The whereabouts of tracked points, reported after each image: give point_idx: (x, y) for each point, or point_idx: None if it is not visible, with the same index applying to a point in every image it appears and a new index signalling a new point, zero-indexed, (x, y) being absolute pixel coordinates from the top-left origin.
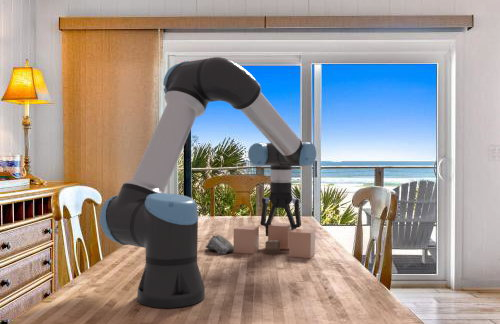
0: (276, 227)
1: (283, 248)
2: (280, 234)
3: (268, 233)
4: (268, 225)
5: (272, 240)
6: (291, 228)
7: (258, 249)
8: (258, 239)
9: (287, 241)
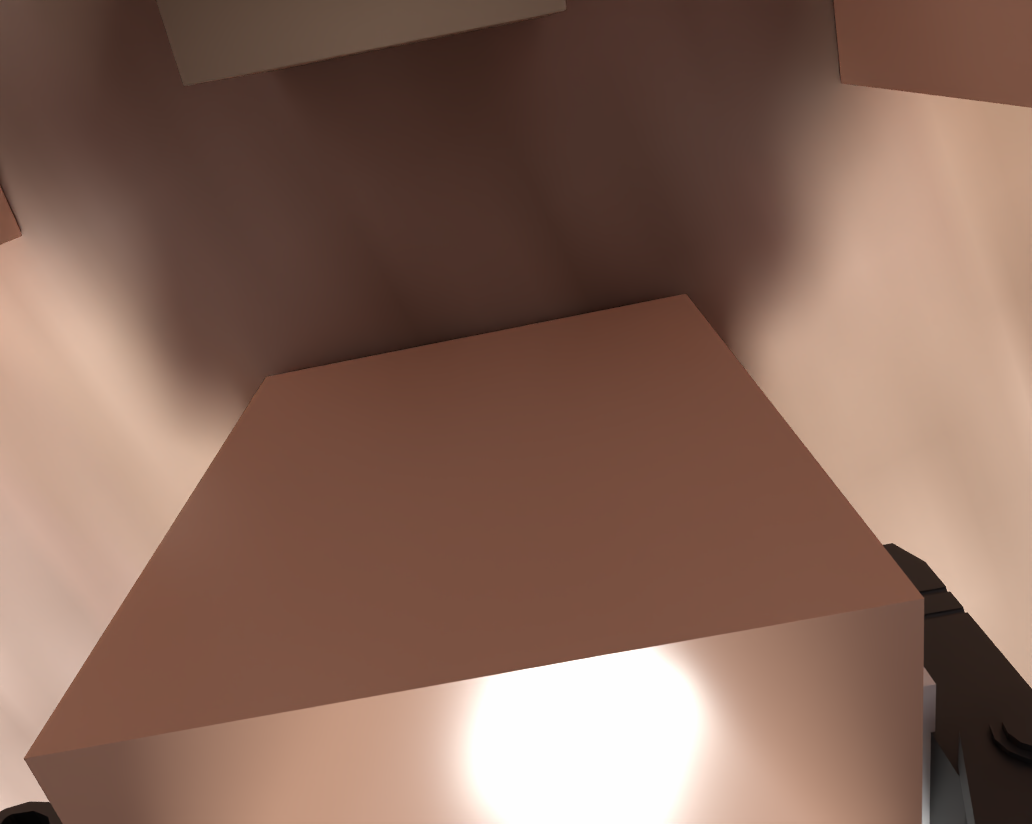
0: (532, 616)
1: (354, 366)
2: (390, 505)
3: (791, 434)
4: (917, 590)
5: (437, 14)
6: (51, 818)
7: (842, 65)
8: (968, 69)
9: (225, 452)
